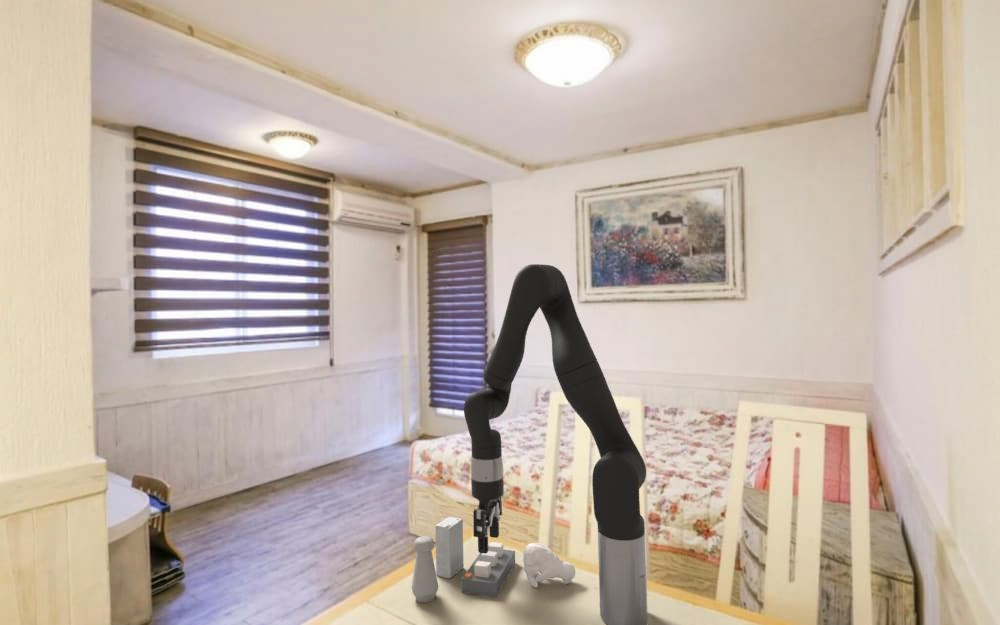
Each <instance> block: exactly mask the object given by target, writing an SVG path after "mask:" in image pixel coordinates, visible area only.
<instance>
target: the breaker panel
mask: <svg viewBox="0 0 1000 625" xmlns="http://www.w3.org/2000/svg"><path fill="white" fill-rule="evenodd" d="M488 551H492V552H497V559H498V562H497V564H496V566H495V567H493V566H491V562H484V561H482V557H481V555H482V553H479V554H478V556H477V557H476V558H475V560H474V561H473V562H472V563H471V565H470V567H469V568H468V569H467V570H466V572H465V574H464V575H463V576H462V578H461V593H464V594H470V595H478V596H484V597H485V596H487V597H494V598H497V597H498V595H499V593H500V591H501V590H502V588H503V586H504V584H505V583H504V582H507V578H508V577H509V575H510V574H509V573H511V572H512V570H513V568H514V566H515V564H516V550H511V549H504V543H502V542H493V541H491V542H490V543H488ZM511 569H512V570H511ZM510 571H511V572H510Z"/></svg>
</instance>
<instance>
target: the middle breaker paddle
mask: <svg viewBox="0 0 1000 625" xmlns="http://www.w3.org/2000/svg"><path fill="white" fill-rule="evenodd" d="M481 557H482V561H484V562H491V566H493V567H495V566H496V564H497V562H498V559H497V552H492V551H488V552H487V553H482V555H481Z"/></svg>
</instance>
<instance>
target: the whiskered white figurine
mask: <svg viewBox="0 0 1000 625" xmlns="http://www.w3.org/2000/svg"><path fill="white" fill-rule="evenodd" d="M523 569H524V573H525V575H526V577H527V578H526V579H527V580H528V581H529V583H530V584H531V586H532V587H534V588H538V587H539V583H540V582H544V581H547V580H549V579H555V578H557V579H561V580H562V583H563V586H565V585H567V584H570V583H571V581H573V579H575V577H576V569H575V566H574V565H573V564H572V563H570V562H568V561H563V560H562V559H561V558H560V557H559V556H558V554H556V553H554V551H553V550H552V549H550V548H549V547H547V546H546V545H545V544H543V543H539V542H532V543H528V544H526V546H525V548H524V551H523Z"/></svg>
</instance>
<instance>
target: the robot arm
mask: <svg viewBox="0 0 1000 625" xmlns="http://www.w3.org/2000/svg"><path fill="white" fill-rule="evenodd" d="M507 303H508V304H507V306H506V310H505V314H504V317H503V322H502V324H501V328H500V332H499V334H498V338H497V340H496V343H495V344H494V348H493V350H492V352H491V355H490V357H489V359H488V361H487V364H486V366H485V368H484V370H483V380H484V382H485V384H487V387H486V388H485V389H483V390H479V391H473V392H471V393H469V394H468V395H467V396H466V398H465V400H464V405H463V414H464V418H465V421H466V422H465V423H466V426H467V429H468V433H469V436H470V441H471V463H470V471H471V472H470V476H471V477H470V478H471V480H470V481H471V483H470V484H471V496H472V498H474V499H476V500H477V501H478V505H477V508H474V509H473V515H472V516H473V517H472V518H473V537H474V538H477V551H478V553H479V554H480V553H487V552H488V545H489V537H490V538H492V539H493V538H496V539H498V537H499V536H500V520H501V517H502V515H503V506H502V505H503V504H502V498H503V495H504V494H505V493H504V492H505V491H504V489H505V488H504V484H505V483H504V464H503V458H502V457H503V456H502V451H503V450H502V436H501V435H502V434H500V432H499V431H498V430H496V429H492V428H491V424H490V420H493V419H497V418H499V417H501V415H503V414H504V412H505V411H506V410H507V408H508V406H509V402H510V397H511V396H510V395H511V391H512V383H513V381H514V380H515V378H516V375H517V373H518V371H519V368H520V367H521V365H522V362H523V358H524V354H525V349H526V348H525V347H526V337H527V332H528V328H529V326H530V324H531V322H532V320H533V318H534V317H535V315H536V314H537V312H538V310H539V309H540V311H541V312H542V314H543V316H544V319H545V321H546V323H547V325H548V329H549V332H550V336H551V337H550V338H551V352H552V353H551V356H552V364H553V369H554V374H555V375H556V378H557V380H558V383H559V386H560V389H561V390H562V392H563V395H564V397H565V399H566V400H567V402H568V403H569V405H570V407H571V408H572V409H573V410H574V412H575V413H576V414H577V415H578V416H579V418H580V419H581V420H582V421H583V423H584V425H586V426H587V428H588V430H589V431H590V434H591V435H592V437H593V440H594V442H595V444H596V446H597V450H598V453H599V456H600V458H599V460H598V461H597V462H596V463H595V465H594V466H593V471H592V479H591V480H592V482H591V484H592V498H593V499H592V502H593V514H594V518H595V520H596V523H597V547H598V548H597V549H598V550H597V551H598V552H597V553H598V579H599V580H598V581H599V582H598V584H599V588H598V589H599V592H598V593H599V614H600V615H599V616H600V618H601V621H603V622H604V623H605V624H607V625H648V582H647V578H648V577H647V564H646V538H645V537H646V536H645V535H646V534H645V533H646V532H645V530H646V527H645V525H646V524H645V519H644V518H643V516H642V515H641V504H640V489H641V488H642V486H643V485H644V483H645V481H646V478H647V466H646V464H645V461H644V459H643V457H642V455H641V453H640V451H639V449H638V447H637V445H636V444H635V442H634V440H633V439H632V437H631V435H630V433H629V431H628V429H627V428H626V426H625V423H624V421H623V419H622V418H621V415H620V413H619V409H618V407H617V405H616V403H615V399H614V397H613V395H612V391H611V390H610V387H609V386H608V382H607V380H606V377H605V375H604V372H603V370H602V368H601V365H600V363H599V361H598V359H597V357H596V354H595V353H594V350H593V348H592V346H591V343H590V341H589V339H588V336H587V334H586V332H585V330H584V328H583V326H582V323H581V321H580V319H579V316H578V313H577V310H576V307H575V304H574V300H573V297H572V294H571V291H570V289H569V285H568V282H567V280H566V278H565V276H564V274H563V272H562V271H561V270H560V269H558V268H557V267H555V266H553V265H552V264H551V265H550V264H539V263H536V264H533V263H532V264H528V265H525V266H523V267H522V268H520V270H518V272H517V273H516V275H515V277H514V280H513V284H512V286H511V291H510V294H509V298H508V302H507Z"/></svg>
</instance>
